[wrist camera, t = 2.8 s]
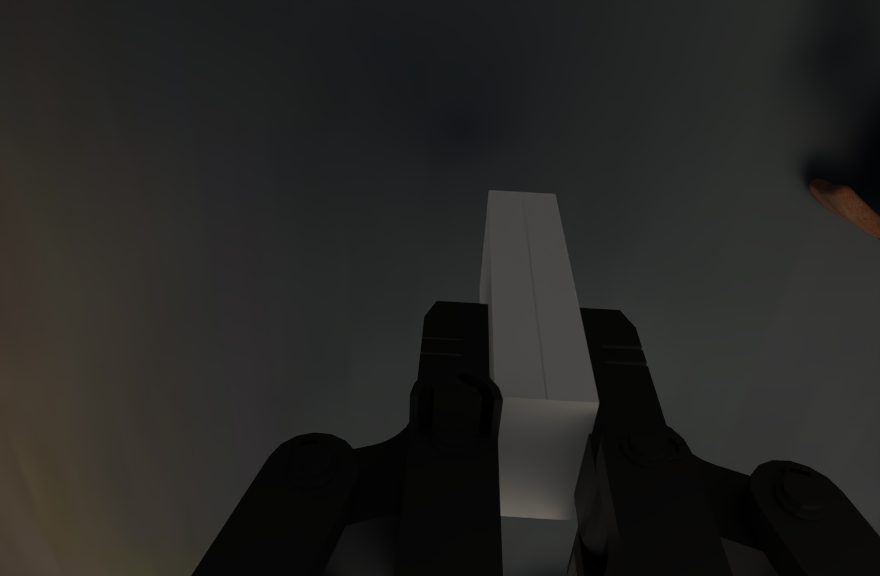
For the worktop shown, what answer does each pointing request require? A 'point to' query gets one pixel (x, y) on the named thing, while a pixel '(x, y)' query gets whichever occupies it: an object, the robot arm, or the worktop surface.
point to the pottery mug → (846, 205)
